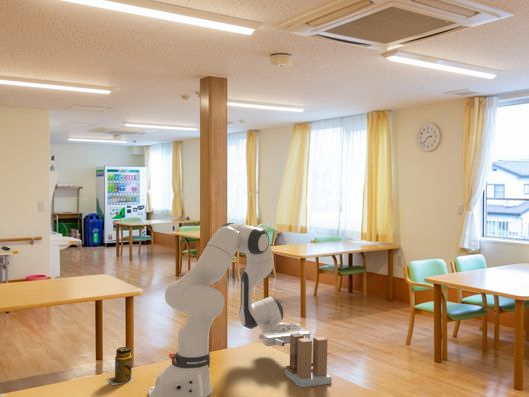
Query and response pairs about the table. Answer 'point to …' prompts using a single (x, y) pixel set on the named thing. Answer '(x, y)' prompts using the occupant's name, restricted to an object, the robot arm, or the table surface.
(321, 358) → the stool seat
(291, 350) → the stool leg
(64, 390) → the table surface
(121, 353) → the condiment
